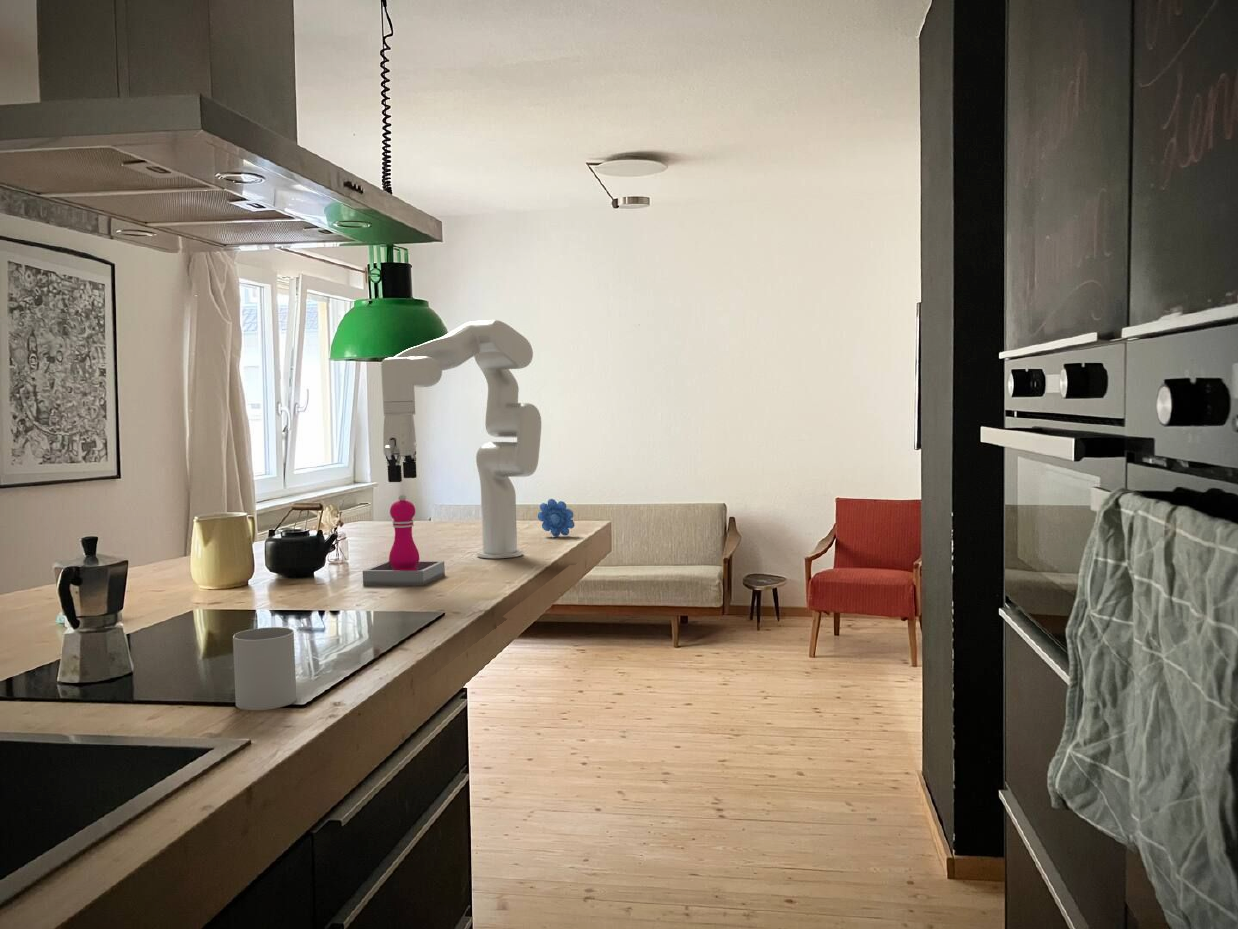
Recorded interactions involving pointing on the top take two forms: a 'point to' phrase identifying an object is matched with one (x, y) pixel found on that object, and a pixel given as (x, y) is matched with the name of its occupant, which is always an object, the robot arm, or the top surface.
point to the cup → (264, 668)
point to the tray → (403, 574)
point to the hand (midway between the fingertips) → (402, 479)
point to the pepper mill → (403, 536)
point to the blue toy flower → (556, 517)
